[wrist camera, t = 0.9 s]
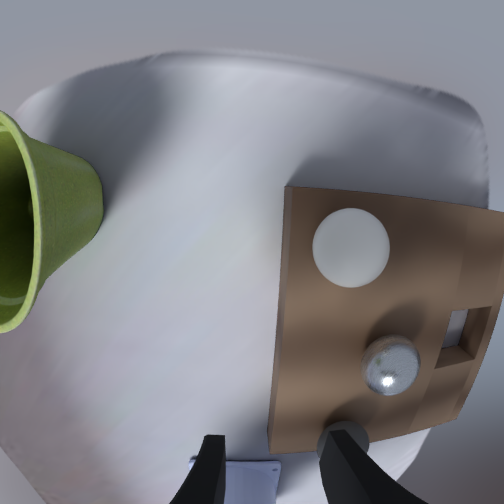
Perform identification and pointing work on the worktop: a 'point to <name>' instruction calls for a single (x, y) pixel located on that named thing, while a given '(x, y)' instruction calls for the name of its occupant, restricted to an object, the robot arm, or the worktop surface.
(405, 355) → the steel ball
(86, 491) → the worktop surface
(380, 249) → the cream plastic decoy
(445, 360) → the board
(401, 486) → the robot arm
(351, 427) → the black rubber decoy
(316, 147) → the worktop surface
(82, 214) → the plant pot
